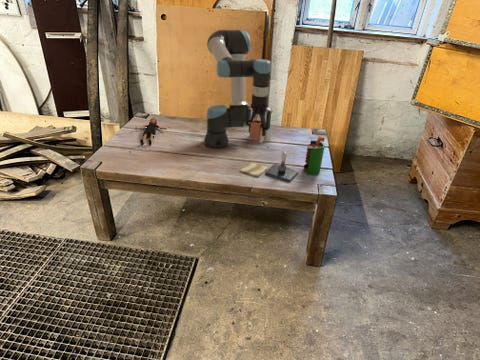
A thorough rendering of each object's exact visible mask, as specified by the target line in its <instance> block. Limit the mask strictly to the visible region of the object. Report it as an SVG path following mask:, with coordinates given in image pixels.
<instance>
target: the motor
mask: <svg viewBox="0 0 480 360" xmlns="http://www.w3.org/2000/svg"><path fill="white" fill-rule="evenodd" d="M325 138H326V137H325V136H322V135H321V136H319V137H317V139H315V140H314V139H313V140H312V139H310V143H309V144H307V148H306V155H305V160H304V162H305V164H303V170H302V171H304V173H306V175H308V176H309V175H310V176H316V175H319V174H320V173H321V169H322V162H323V157H324V151H325V145H326V144H325V143H324V142H325Z"/></svg>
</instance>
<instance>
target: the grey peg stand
mask: <svg viewBox="0 0 480 360" xmlns="http://www.w3.org/2000/svg"><path fill="white" fill-rule="evenodd" d="M286 157H287V152H286V151H282V154H281V162H280V164H277V163H273V164H272V165H271V166H270V167H268V169H267V170H266V171H265V172H264V174H265V175H266V176H270V177H272V178H274V179H275V178H276V179H279V180H282V181H285V182H288V183H291V182H292V180H293V179H294V178H295V177H296V176H297V175H298V174H299V170H297V169H293V168H289V167H287V165H286V159H287V158H286Z"/></svg>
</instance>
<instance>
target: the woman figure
mask: <svg viewBox="0 0 480 360" xmlns="http://www.w3.org/2000/svg"><path fill="white" fill-rule="evenodd" d="M157 120H158V119H156V118H154V117H152V118H150V120H149V122H148V124H147V125H145V126H144V127H141V126H140V127H137V126H136V127H134V131H135V130H136V131H137V130H143V129H142V128H145V127H147V128H146V129H145V130H144V131H143V134H142V139H140V145H141V146H144V145H145V141H146V139H147V136H148V135H149V134H150V137H149V138H150V139H148V144H149V146H151V145H152V142H153V140H154V137H153V135H155V136H156V132H157V131H156V129H158V128H160V129H159V130H165V131H167V127H166V126H165V127H161V126H159V125H157V124H158V121H157ZM156 127H157V128H156ZM149 132H150V133H149ZM143 136H144V137H143Z"/></svg>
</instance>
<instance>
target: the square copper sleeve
mask: <svg viewBox="0 0 480 360" xmlns="http://www.w3.org/2000/svg"><path fill="white" fill-rule="evenodd" d="M261 130H262V125H261V121H260V120H257V119H255V120H254V121H252V122H251V129H250V133H249V140H250V139H251V140H252V141H254V140H255V141H254V142H258V143H260V132H261ZM251 140H250V141H251Z"/></svg>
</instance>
